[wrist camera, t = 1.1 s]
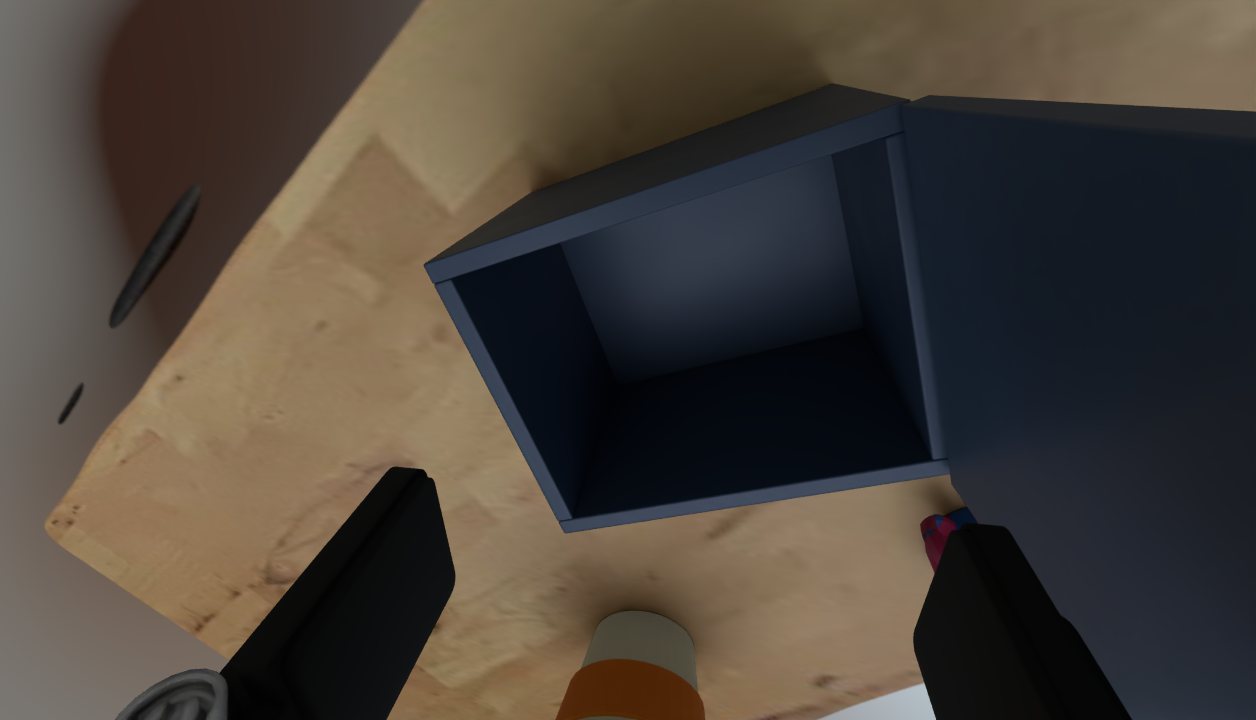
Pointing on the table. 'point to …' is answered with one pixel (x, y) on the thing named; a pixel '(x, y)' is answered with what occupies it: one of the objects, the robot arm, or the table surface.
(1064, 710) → the robot arm
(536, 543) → the table surface
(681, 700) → the reusable coffee cup
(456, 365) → the table surface
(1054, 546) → the chest lid
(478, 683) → the table surface
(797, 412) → the chest
